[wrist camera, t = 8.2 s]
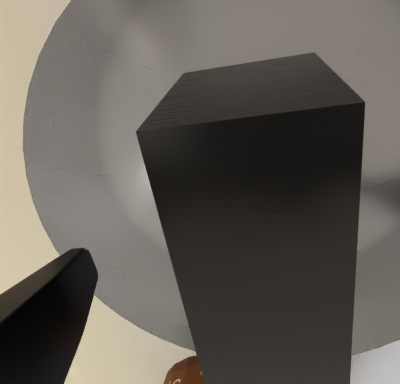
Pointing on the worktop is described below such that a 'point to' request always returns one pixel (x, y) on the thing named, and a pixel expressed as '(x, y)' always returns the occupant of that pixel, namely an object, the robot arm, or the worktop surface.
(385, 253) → the lid
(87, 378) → the worktop surface
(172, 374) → the food container
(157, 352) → the worktop surface
